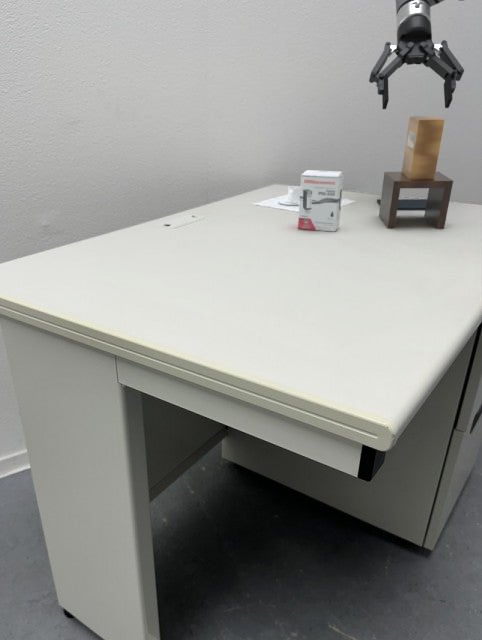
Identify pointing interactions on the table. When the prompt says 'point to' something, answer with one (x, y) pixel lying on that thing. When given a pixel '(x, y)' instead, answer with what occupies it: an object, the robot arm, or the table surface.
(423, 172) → the tape carton
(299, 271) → the table surface
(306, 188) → the ink box
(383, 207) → the shelf
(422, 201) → the mat
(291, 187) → the teacup and saucer
